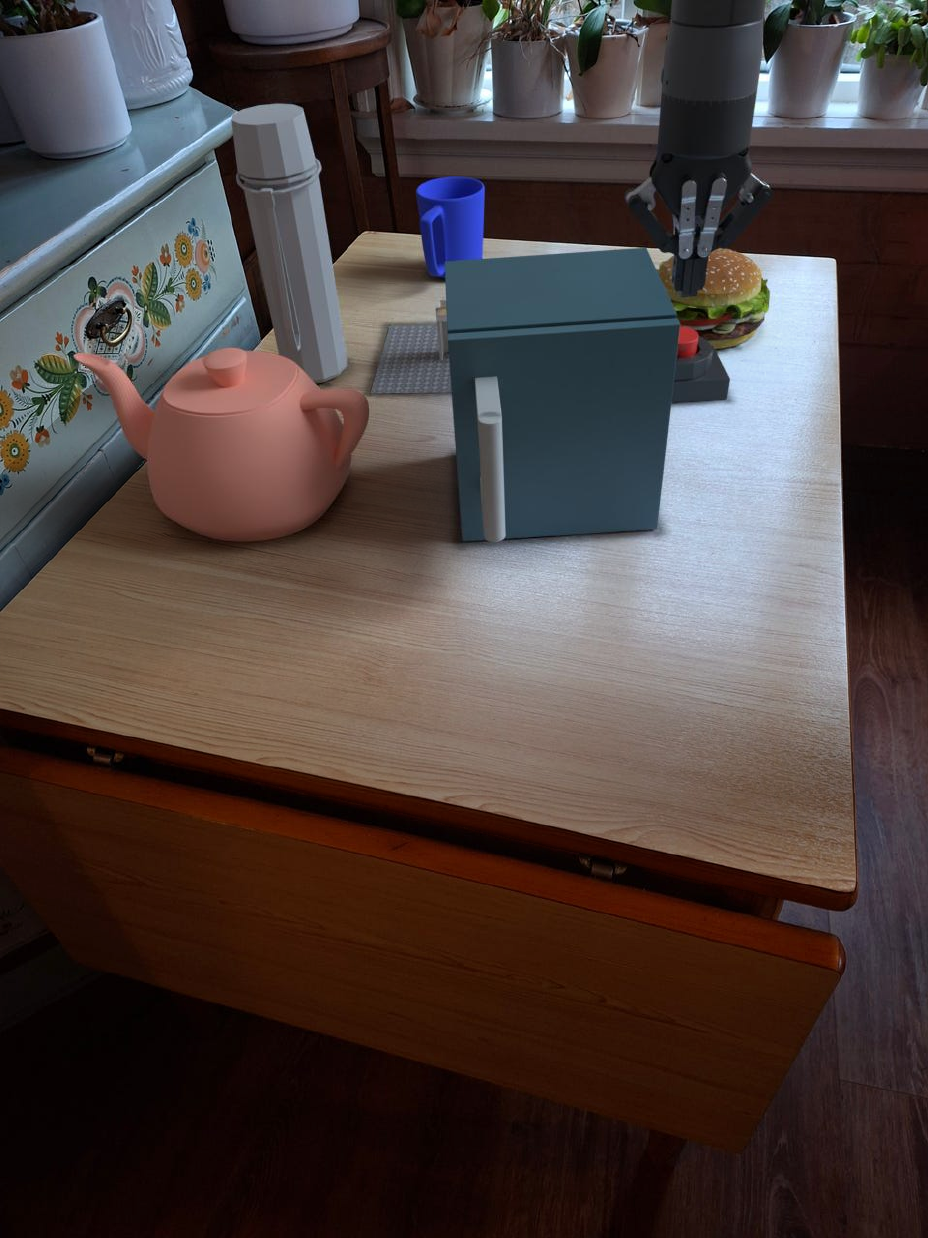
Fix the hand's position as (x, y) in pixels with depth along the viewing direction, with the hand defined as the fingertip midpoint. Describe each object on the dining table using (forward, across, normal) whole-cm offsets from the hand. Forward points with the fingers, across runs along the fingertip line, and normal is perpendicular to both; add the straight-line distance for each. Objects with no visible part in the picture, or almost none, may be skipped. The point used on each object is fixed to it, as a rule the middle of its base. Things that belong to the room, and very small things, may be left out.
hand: (687, 293), depth 85 cm
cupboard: (+9, -14, -16) cm, 23 cm away
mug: (+9, -22, +30) cm, 39 cm away
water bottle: (+9, -37, +7) cm, 39 cm away
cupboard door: (+9, -14, -26) cm, 31 cm away
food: (+10, +5, +12) cm, 16 cm away
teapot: (+9, -41, -14) cm, 45 cm away
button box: (+9, 0, 0) cm, 9 cm away
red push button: (+6, 0, 0) cm, 6 cm away
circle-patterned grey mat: (+9, -20, +9) cm, 24 cm away
